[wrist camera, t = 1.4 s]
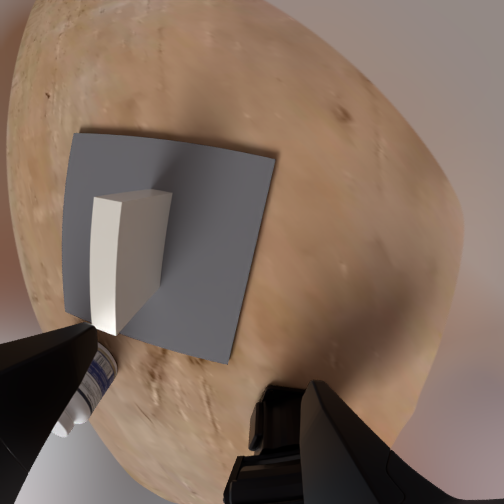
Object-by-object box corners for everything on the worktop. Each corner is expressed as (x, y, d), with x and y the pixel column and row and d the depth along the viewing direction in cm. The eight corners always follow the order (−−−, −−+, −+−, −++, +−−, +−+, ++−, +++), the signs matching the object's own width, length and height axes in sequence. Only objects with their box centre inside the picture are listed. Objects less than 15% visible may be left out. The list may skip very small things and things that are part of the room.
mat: (275, 160, 17) (275, 159, 17) (228, 360, 21) (227, 364, 21) (78, 133, 17) (73, 133, 16) (68, 308, 21) (65, 311, 21)
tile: (172, 192, 17) (121, 202, 11) (159, 287, 19) (116, 336, 13) (149, 188, 17) (91, 196, 11) (138, 281, 19) (89, 325, 13)
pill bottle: (77, 364, 23) (30, 419, 14) (75, 328, 22) (16, 384, 12) (118, 386, 23) (78, 451, 14) (120, 351, 22) (69, 421, 13)
